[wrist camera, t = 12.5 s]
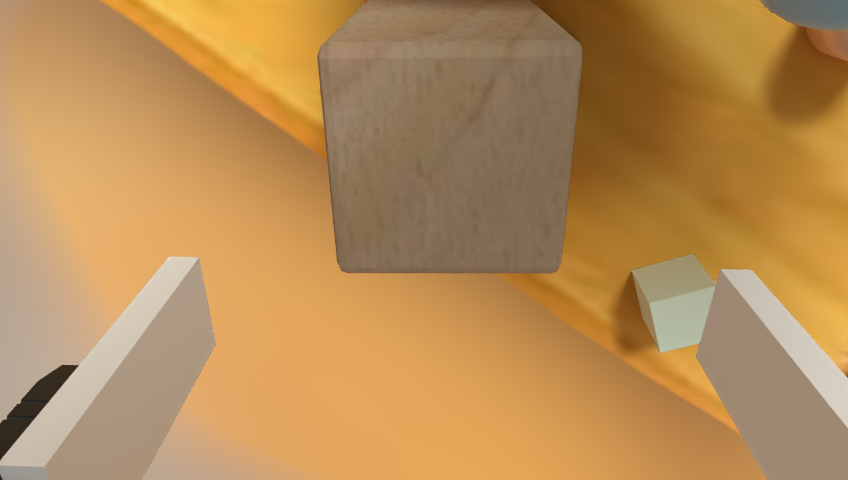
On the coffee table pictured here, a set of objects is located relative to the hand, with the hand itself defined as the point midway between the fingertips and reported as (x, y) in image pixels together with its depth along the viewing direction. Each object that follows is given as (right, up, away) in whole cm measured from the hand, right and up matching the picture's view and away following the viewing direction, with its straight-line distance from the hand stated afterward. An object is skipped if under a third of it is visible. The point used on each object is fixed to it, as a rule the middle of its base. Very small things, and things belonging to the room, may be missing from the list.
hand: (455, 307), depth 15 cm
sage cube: (+20, -2, +35) cm, 40 cm away
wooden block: (+1, +14, +27) cm, 30 cm away
